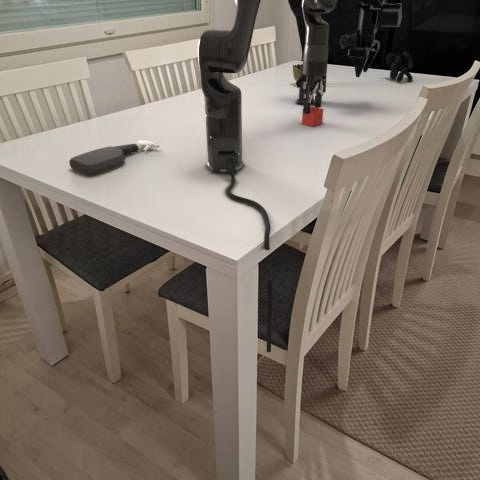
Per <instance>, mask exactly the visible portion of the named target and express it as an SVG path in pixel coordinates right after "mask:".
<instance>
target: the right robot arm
mask: <svg viewBox="0 0 480 480" xmlns="http://www.w3.org/2000/svg"><path fill="white" fill-rule="evenodd" d="M359 1H360V2H358V4H357V6H355V7H354V8H353V11H356V12H357V11H358V12H359V17H358V18H359V19H358V27H357V28H356V30H355V32H354V34H350V35H348V34H347V33H346V34H344V35H341V37H340V39H339V43H338V44H339V45H340V46H341V47H340V48H341V49H342V50H343V49H346V47H350V46H351V47H350V48H349V49H348V50H347V57H348V58H349V59H350V60H351V61H352V62H353V66H354V73H355V77H356V78H360V77H361V75H362V73H367V71H369V68H370V67H371V64H373V63H372V62H373V61H374V59H375V57H376V56H377V54H378V52H379V50H380V49H381V43H380V40H377V39H376V38H375V37H376V33H377V32H378V28H377V24H380V25H379V26H380V27H386V28H399V27H400V26H401V23H402V19H403V8H402V7H403V3H388V2H387V1H386V0H359ZM287 2H288V5H289V8H290V11H291V12H292V14H293V15H294V17H295V21H296V22H295V23H296V25H297V31H298V37H299V42H300V43H299V44H300V48H301V53H302V61H303V60H304V48H305V39H306V26H305V21H304V15H303V9H302V0H287ZM306 80H307V76H306V75H304V74H303V65H302V77H301V78H300V79H299V80H297V81H296V80H295V85H296V88H297V89H298V98H297V99H296V101H297V105H304V102H302V101H300V93H301V83H302V82H306ZM303 97H304V94H303ZM310 103H311V105H314V104H315V95H314V96H313V97H312V99H311V102H310Z"/></svg>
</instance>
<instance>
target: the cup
mask: <svg viewBox="0 0 480 480" xmlns="http://www.w3.org/2000/svg"><path fill="white" fill-rule="evenodd" d="M302 65H303V63H301V64H299V63H298V64H293V65H292V76H293V79H294V81H295V82H296V81H297V80H299V79H300V78H301V77H302Z"/></svg>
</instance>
